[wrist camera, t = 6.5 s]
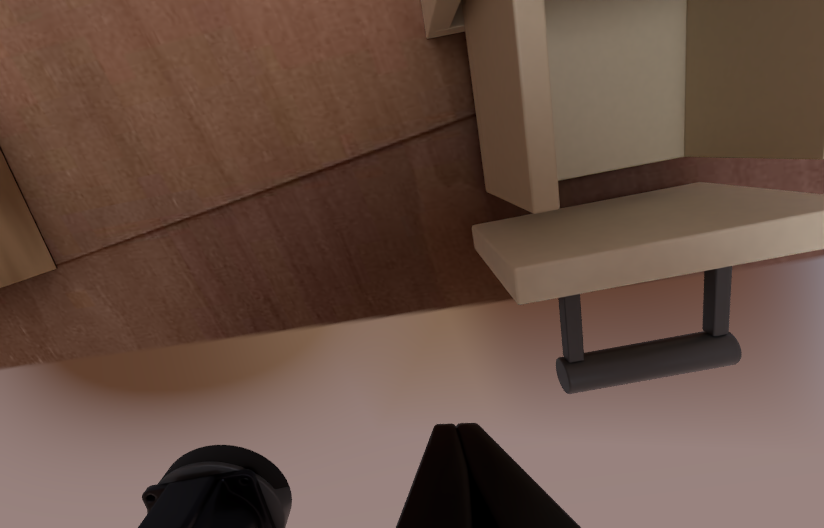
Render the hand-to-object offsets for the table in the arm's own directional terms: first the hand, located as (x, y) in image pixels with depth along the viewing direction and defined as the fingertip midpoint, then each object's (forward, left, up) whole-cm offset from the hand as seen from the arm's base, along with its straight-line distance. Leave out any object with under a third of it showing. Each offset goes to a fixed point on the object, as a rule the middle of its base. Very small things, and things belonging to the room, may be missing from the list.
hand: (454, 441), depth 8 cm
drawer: (+4, -8, -11) cm, 14 cm away
